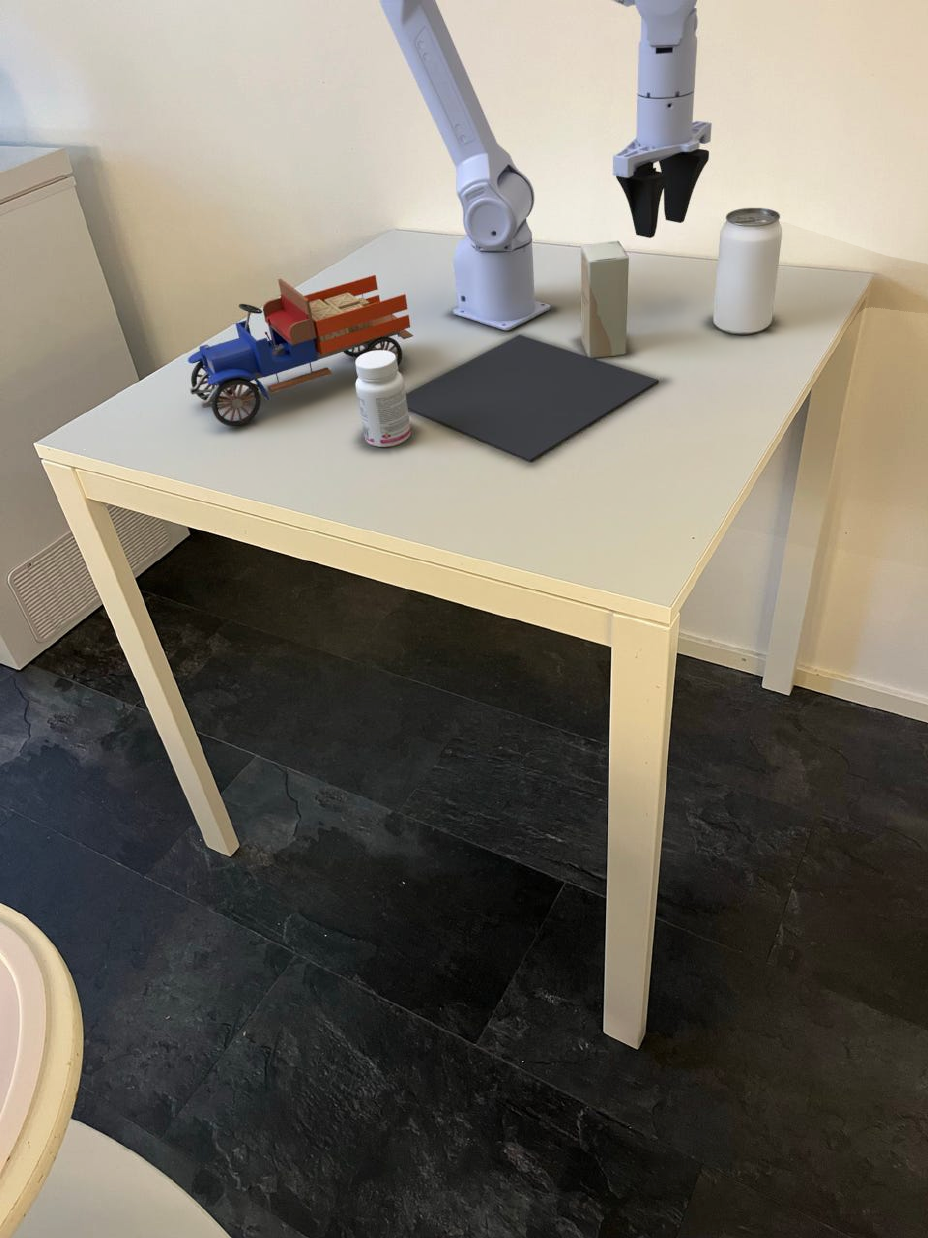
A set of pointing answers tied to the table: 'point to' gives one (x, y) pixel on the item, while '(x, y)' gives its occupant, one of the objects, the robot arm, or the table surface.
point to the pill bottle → (382, 399)
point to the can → (747, 270)
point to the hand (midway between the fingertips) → (660, 227)
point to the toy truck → (296, 342)
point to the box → (604, 298)
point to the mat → (526, 396)
